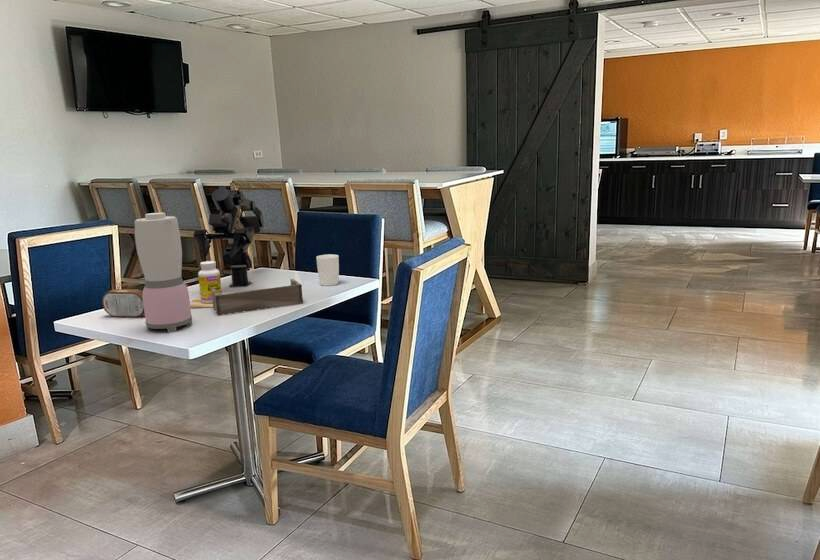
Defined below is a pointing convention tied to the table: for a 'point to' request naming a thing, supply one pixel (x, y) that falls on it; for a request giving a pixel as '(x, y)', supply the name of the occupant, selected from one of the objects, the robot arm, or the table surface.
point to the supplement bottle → (209, 281)
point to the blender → (162, 272)
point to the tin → (124, 303)
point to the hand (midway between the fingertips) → (217, 257)
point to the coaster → (199, 303)
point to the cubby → (257, 299)
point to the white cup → (328, 269)
